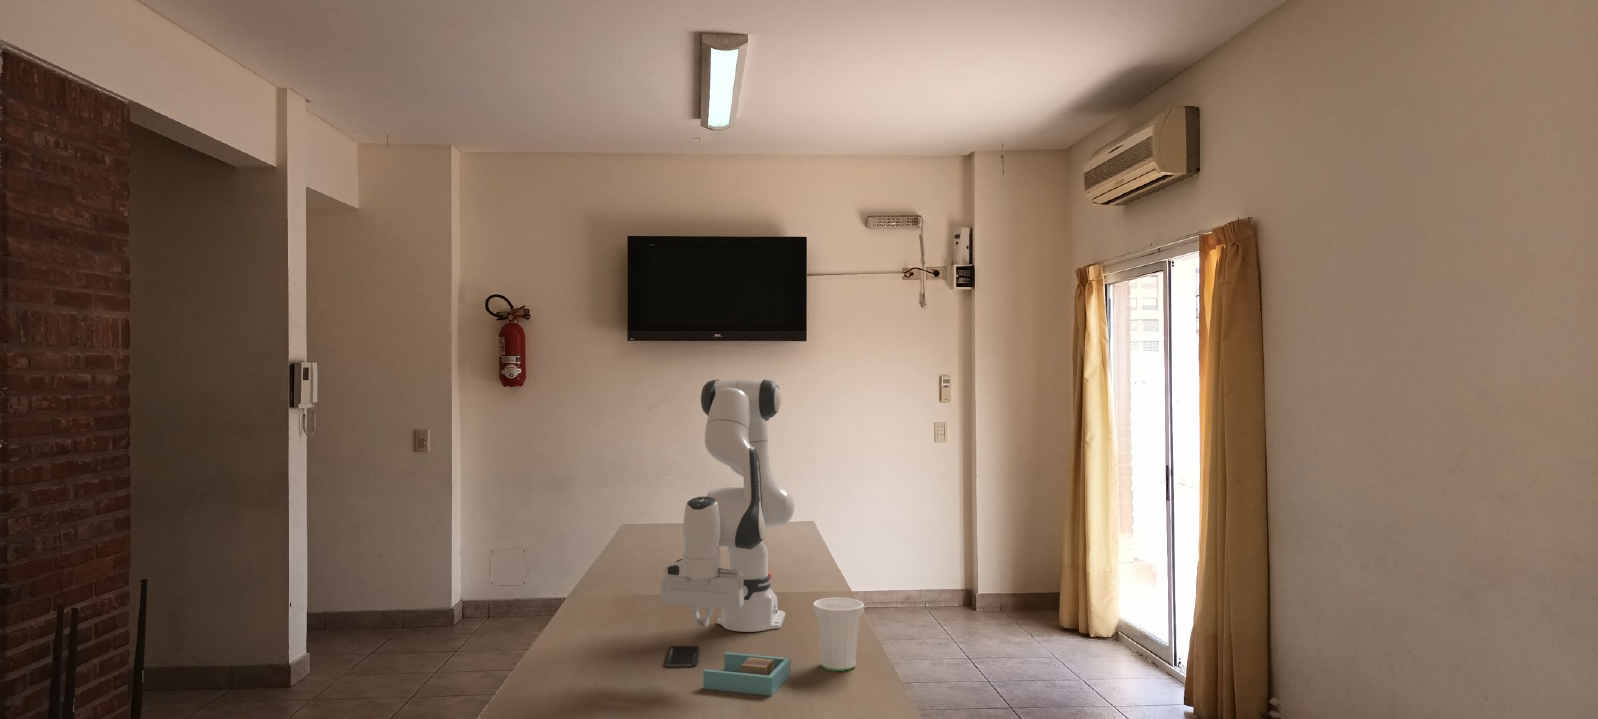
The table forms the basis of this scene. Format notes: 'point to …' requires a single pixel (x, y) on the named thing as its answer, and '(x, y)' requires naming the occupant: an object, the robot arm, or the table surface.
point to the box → (747, 676)
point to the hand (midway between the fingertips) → (702, 625)
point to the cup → (838, 631)
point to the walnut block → (758, 666)
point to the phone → (682, 657)
